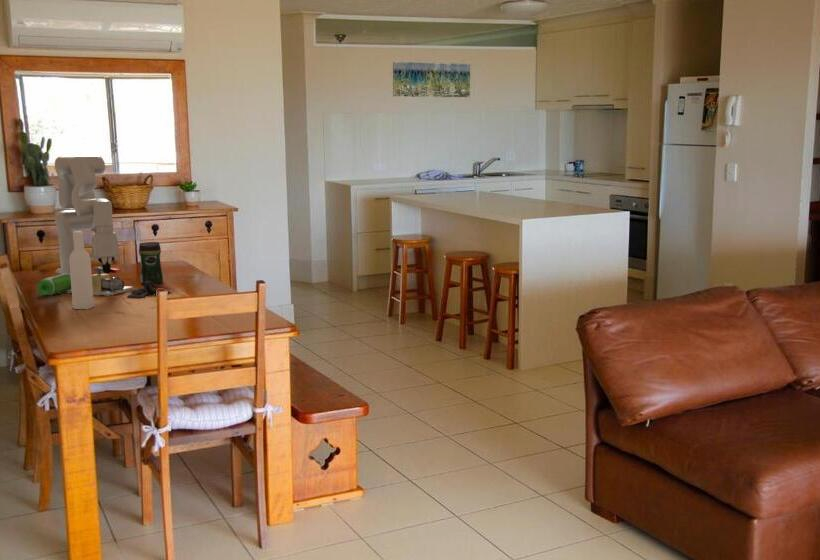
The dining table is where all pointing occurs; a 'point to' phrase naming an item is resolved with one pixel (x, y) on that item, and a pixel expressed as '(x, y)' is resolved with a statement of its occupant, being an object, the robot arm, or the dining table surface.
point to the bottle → (81, 274)
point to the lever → (113, 270)
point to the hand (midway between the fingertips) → (106, 273)
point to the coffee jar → (150, 262)
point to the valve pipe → (106, 285)
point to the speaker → (55, 284)
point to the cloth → (145, 291)
